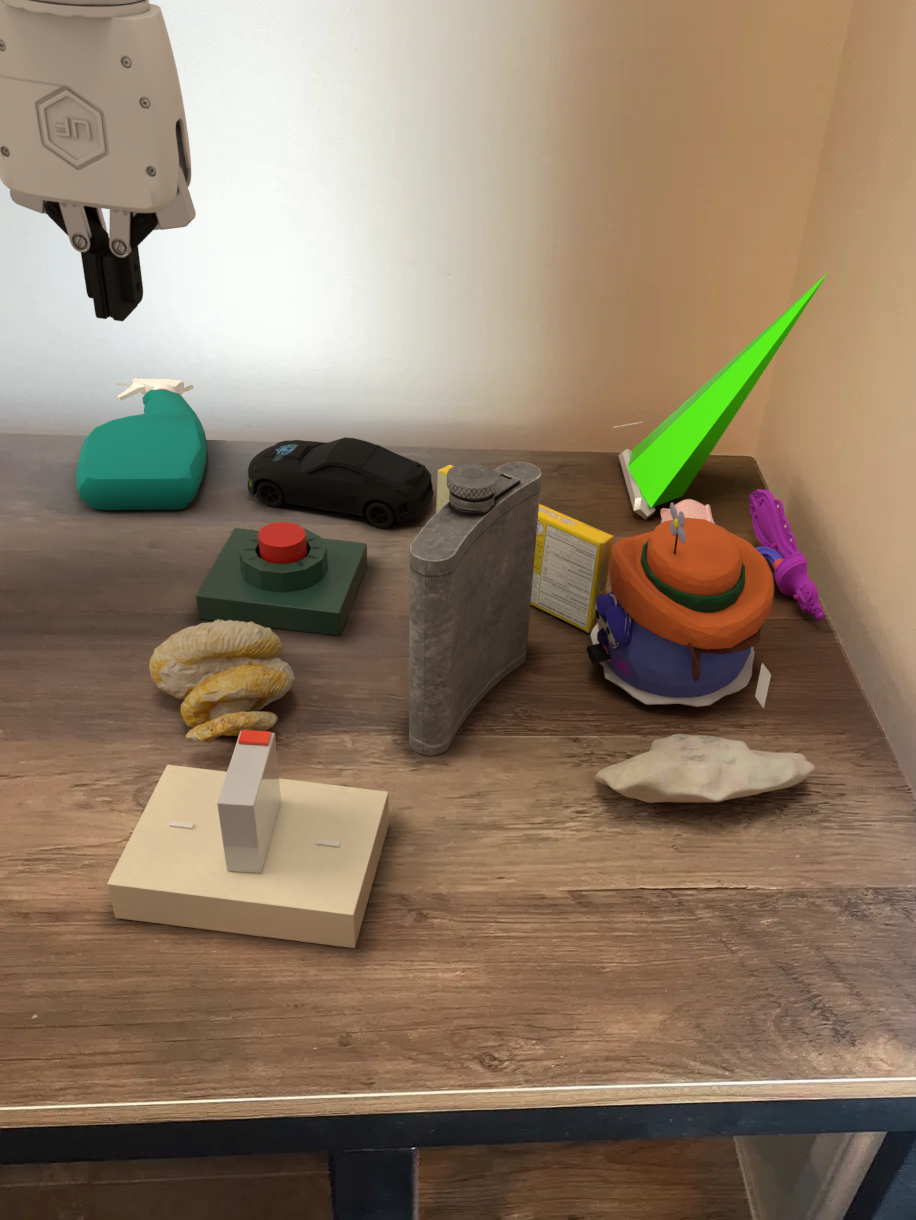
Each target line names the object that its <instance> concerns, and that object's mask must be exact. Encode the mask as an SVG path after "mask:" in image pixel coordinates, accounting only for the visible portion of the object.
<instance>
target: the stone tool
mask: <svg viewBox="0 0 916 1220" xmlns="http://www.w3.org/2000/svg"><path fill="white" fill-rule="evenodd" d="M815 770H816V766H815V765H814V764H813V763H812V762H810V761H808V760H807V757H806V756H805V755H803V754H802V753H797V752H773V751H763V750H756V749H750V748H749V746H748V745H747V743H746V742H745V741H742V740H737V739H727V738H724V737H718V736H712V735H691V734H684V733H674V734H672V735H670V736H667V737H663V738H658V739H654V740H653V741H652V743H651V745H650V748H649V750H648V751H646V752H642V753H639V754H637V755H634V756H632V757H630V758H628V759H625V760H623V761H621V762H618V763H615V764H611V765H608V766H606V767H604V768H602V769H601V770H599V771H597V773H595V776H594V777H595V780H596V781H597V782H598V783H599V784H602V785H605V786H607V787H610V788H611V789H612V790H613V791H615V792H616V793H618V794H620V795H621V796H623V797H626V798H629V799H635V800H639V801H642V802H645V803H649V804H652V803H654V804H655V803H681V804H682V803H721V802H725V801H727V800H733V799H739V798H744V797H750V796H754V795H759V794H762V793H767V792H773V791H778V790H783V789H788V788H791V787H795V786H796V785H799V784H800V783H802V782H803V781H804V780H805V779H806V778H808V777H809V776H811V775H812V774H813V773H814V772H815Z"/></svg>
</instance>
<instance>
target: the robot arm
mask: <svg viewBox="0 0 916 1220" xmlns="http://www.w3.org/2000/svg"><path fill="white" fill-rule="evenodd" d="M172 47H173V46H172V43H171V39H170V36H169V32H168V28H167V24H166V21H165V18H164V15H163V12H162V9H161V7H160V5H158V4H154V3H150V0H0V181H1V183H2V184H3V185H4V186H5V187H6V188H7V189H9V195H10V199H11V200H12V202H13V203H14V204H16V205H18V206H20V207H23V208H26V209H28V210H32V211H34V212H36V213H39V214H42V215H43V214H44V215H47V216H48V217H49V219H51V220H52V222H54V223H55V225H56V226H58V227H59V228H60V229H61V230H62V231H63V233H64V234H66V235H67V237H68V238H69V239H68V240H69V243H70V245H71V246H72V247H73V249H74V250H75V251H77V252H79V253H80V257H81V264H82V270H83V276H84V277H83V278H84V283H85V290H86V295H87V297H88V298H89V299H92V302H93V306H94V307H93V308H94V315H95V317H96V318H97V319H102V320H103V319H104V320H107V319H108V318H111V319H112V320H113V321H118V322H124V321H125V320H126V319H127V318H128V317H129V316H130V315H131V314H132V313H133V312H134V311H135V310H136V308H138V305H139V304H140V303H141V302H142V301H143V298H144V286H143V285H144V283H143V277H142V276H143V275H142V267H141V260H140V251H139V245H141V244H142V243H143V241H144V240H145V239H146V238H147V237H148V236H149V235H150V234H151V233H152V232H153V231H157V230H160V231H164V230H165V231H166V230H172V229H179V228H185V227H187V226H189V225H190V223H192V221H194V219H195V218H196V215H197V213H196V209H195V206H194V202H193V199H192V197H191V193H190V190H189V188H190V187H189V186H190V185H191V181H192V159H191V158H192V157H191V148H190V147H191V146H190V139H189V130H188V125H187V124H188V123H187V118H186V111H185V104H184V100H183V99H184V98H183V94H182V88H181V83H180V79H179V72H178V67H177V65H176V64H177V63H176V59H175V56H174V55H175V54H174V51H173V48H172ZM102 209H104V210H109V229H107V225H106V221H105V217H104V214H103V210H102ZM107 231H109V232H107Z"/></svg>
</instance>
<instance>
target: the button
mask: <svg viewBox="0 0 916 1220" xmlns="http://www.w3.org/2000/svg"><path fill="white" fill-rule="evenodd" d="M304 529H305V528H303V527H302V526H301V525H299V524H298V523H295V522H289V521H288V522H287V521H278V522H272V523H268V524H266V525H264V526H262V527H261V528H260V530H258V531H259V533H258V540H259V551H260V556H261V558H262V559H263V560H265V561H267V562H269V563H277V564H287V563H293V562H298V561H300V560H302V559H303V558H305V556H306V554H307V545H306V532H305V530H304Z"/></svg>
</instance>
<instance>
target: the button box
mask: <svg viewBox="0 0 916 1220" xmlns="http://www.w3.org/2000/svg"><path fill="white" fill-rule="evenodd" d="M303 529H304V530H305V532H306V545H307V554H306V556H305V558H303V559H302V560H300V561H298V562H293V563H287V564H277V563H269V562H267V561H265V560H263V559H262V558H261V556H260V551H259V540H258V533H259V531H260V530H258V529H257V530H256V529H248V528H240V527H234V528H233V529H232V531H231V533H230V535H229V537H228V539H227V541H226V542H225V543H224V546H223V547H222V549H221V551H220V553H219V555H218V556H217V557H216V560H215V561H214V563H213V564H212V567H211V568H210V570H209V571H208V574H207V575H206V578H205V579H204V580H203V582H202V584H201V585H200V588H199V589H198V591H197V593H196V594H195V600H196V607H197V613H198V614H197V615H198V619H199V620H207V621H213V622H214V621H215V620H218V619H220V620H224V621H228V620H232V621H239V622H246V623H247V622H254V623H255V624H258V625H261V626H263V627H264V628H270V629H280V630H289V631H297V632H305V633H314V634H321V635H328V636H329V635H330V636H341V634H342V632H343V630H344V627H345V625H346V621H347V620H348V616H349V614H350V611H351V609H352V606H353V603H354V601H355V598H356V596H357V593H358V590H359V588H360V586H361V582H362V580H363V577H364V576H365V573H366V570H367V567H368V543H366V542H359V541H350V540H340V539H332V538H325V537H321V536H320V535H319V534H317V533H314V532H312V531H310V530H308V529H306V528H303Z"/></svg>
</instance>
